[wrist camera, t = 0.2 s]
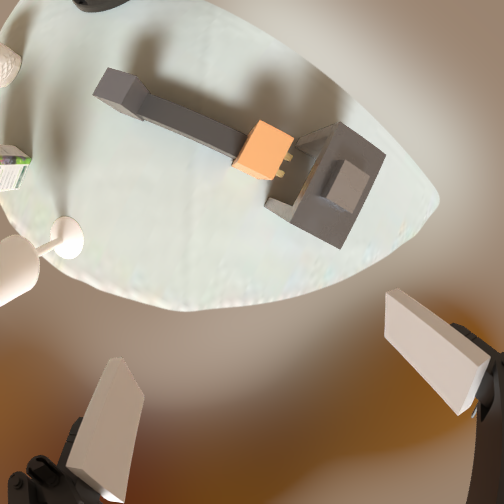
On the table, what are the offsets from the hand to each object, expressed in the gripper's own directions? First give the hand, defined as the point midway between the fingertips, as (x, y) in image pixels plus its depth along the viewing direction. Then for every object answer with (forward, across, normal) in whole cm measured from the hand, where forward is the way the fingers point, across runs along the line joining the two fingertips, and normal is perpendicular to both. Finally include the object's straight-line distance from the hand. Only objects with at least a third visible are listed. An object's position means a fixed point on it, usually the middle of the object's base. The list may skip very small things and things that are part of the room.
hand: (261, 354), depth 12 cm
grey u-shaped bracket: (+28, +11, +5) cm, 30 cm away
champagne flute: (+28, -25, +6) cm, 38 cm away
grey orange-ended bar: (+28, -1, +15) cm, 31 cm away
